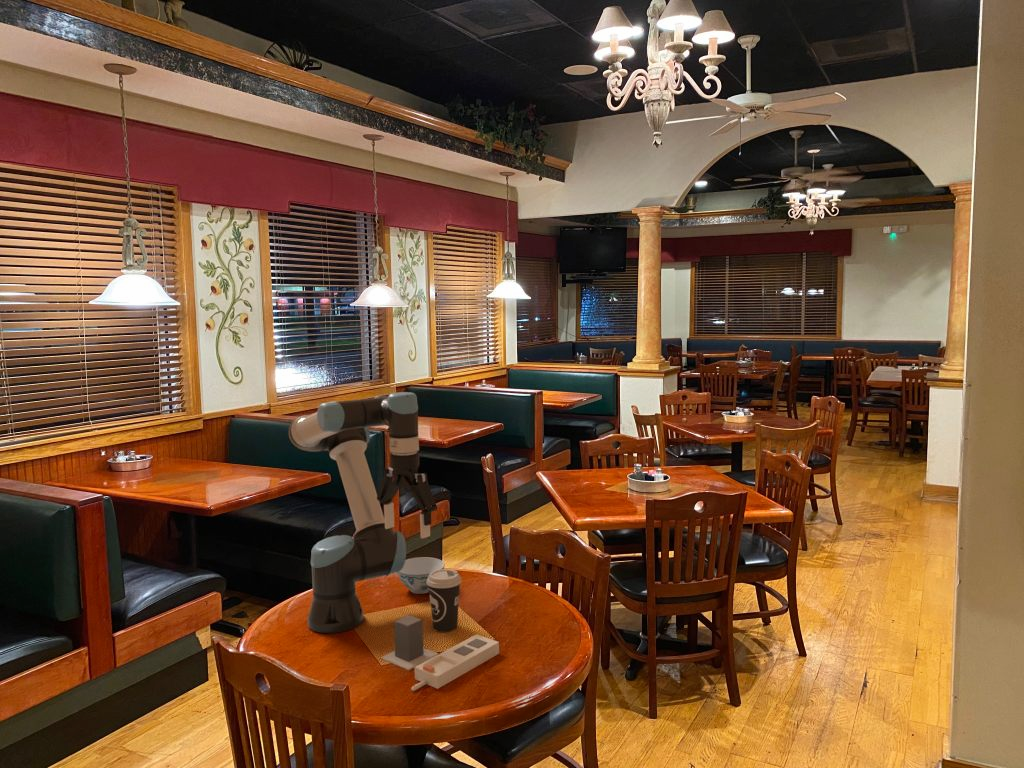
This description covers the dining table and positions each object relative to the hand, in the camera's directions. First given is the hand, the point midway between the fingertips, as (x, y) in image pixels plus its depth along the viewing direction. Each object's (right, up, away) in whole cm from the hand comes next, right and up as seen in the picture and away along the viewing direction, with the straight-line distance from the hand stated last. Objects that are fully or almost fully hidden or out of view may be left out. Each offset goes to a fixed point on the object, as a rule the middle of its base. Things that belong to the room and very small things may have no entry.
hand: (407, 532), depth 199 cm
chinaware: (-1, -25, +36) cm, 44 cm away
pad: (+2, -30, -8) cm, 31 cm away
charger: (+2, -29, -8) cm, 30 cm away
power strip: (+13, -30, -15) cm, 36 cm away
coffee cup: (+9, -28, +9) cm, 31 cm away
